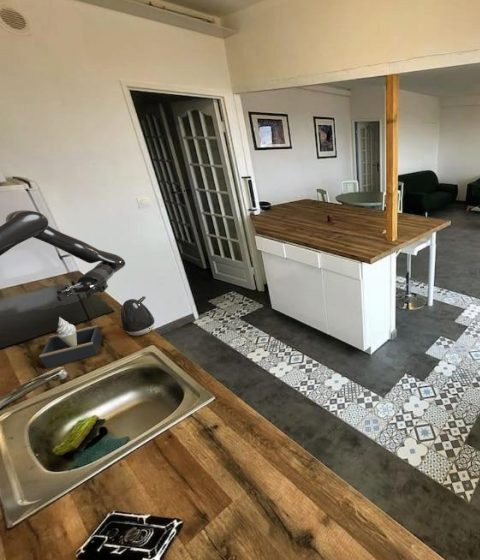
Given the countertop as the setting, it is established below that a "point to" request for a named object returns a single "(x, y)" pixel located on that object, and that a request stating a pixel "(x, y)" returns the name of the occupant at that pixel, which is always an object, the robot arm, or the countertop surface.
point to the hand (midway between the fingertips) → (73, 297)
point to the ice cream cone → (67, 332)
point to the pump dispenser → (136, 317)
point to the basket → (57, 357)
